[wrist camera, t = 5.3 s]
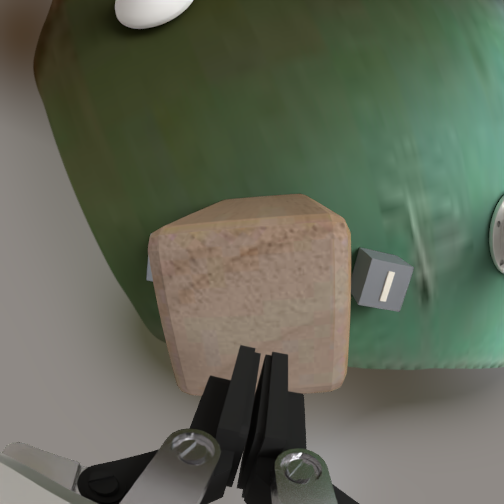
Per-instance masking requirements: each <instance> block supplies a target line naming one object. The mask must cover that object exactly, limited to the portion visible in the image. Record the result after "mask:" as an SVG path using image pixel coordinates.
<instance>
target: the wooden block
mask: <svg viewBox="0 0 504 504" xmlns="http://www.w3.org/2000/svg"><path fill="white" fill-rule="evenodd" d="M148 255H149V261H150V267H151V273H152V278H153V284H154V289H155V294H156V299H157V304H158V309H159V313H160V318H161V322H162V327H163V331H164V336H165V340H166V344H167V348H168V352H169V356H170V360H171V364H172V368H173V371H174V375H175V379H176V383H177V386H178V387H179V388H180V390H181V391H182V392H185V393H187V394H190V395H203V392H204V389H205V387H206V384H207V381H208V379H209V377H210V375H211V376H215V377H219V378H224V379H228V380H231V377H232V374H233V370H234V366H235V363H236V359H237V355H238V352H239V348H240V345H243V346H248V347H252V348H256V349H255V352H256V353H261V356H260V363H259V370H258V376H257V383H256V388H257V385H258V381H259V377H260V373H261V370H262V366H263V362H264V358H265V355H271V354H272V352H277V353H283V354H288V391H290V392H296V393H303V394H307V393H318V392H329V391H333V390H335V389H337V388H340V387H341V385H342V383H343V381H344V379H345V376H346V373H347V363H348V348H349V331H350V306H351V233H350V230H349V228H348V226H347V224H346V221H345V219H344V218H343V217H341V216H339V215H338V214H336V213H334V212H333V211H331V210H330V209H328V208H326V207H325V206H323V205H321V204H320V203H318V202H316V201H315V200H313V199H311V198H310V197H308V196H306V195H303V194H288V195H274V196H261V197H249V198H238V199H227V200H223V201H220V202H218V203H215V204H213V205H211V206H208V207H206V208H204V209H202V210H199V211H197V212H195V213H192V214H190V215H188V216H186V217H183V218H181V219H179V220H177V221H174V222H172V223H170V224H168V225H166V226H163V227H162V228H160V229H158V230H157V231H155V232H153V233H151V235H150V238H149V245H148ZM255 392H256V390H255Z"/></svg>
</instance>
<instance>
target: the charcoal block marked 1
mask: <svg viewBox="0 0 504 504" xmlns="http://www.w3.org/2000/svg"><path fill="white" fill-rule="evenodd" d="M413 269H414V267H412V266H411V265H410V264H408V263H407V262H405V261H404V260H403V259H401V258H400V257H398V256H396V255H392V254H387V253H383V252H379V251H374V250H370V249H365V248H361V247H359V251H358V255H357V259H356V262H355V266H354V270H353V273H352V277H351V294H352V295H353V297H354V299H355V300H356V302H357V304H358V305H362V306H368V307H374V308H380V309H386V310H392V311H398V312H400V309H401V306H402V303H403V300H404V297H405V294H406V291H407V288H408V285H409V282H410V279H411V276H412V273H413Z"/></svg>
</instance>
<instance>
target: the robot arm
mask: <svg viewBox="0 0 504 504" xmlns="http://www.w3.org/2000/svg"><path fill="white" fill-rule="evenodd" d="M489 245H490V252H491V257H492V259H493V262H494V264H495V266H496V267H497V269H498V270H499V271H500V272H501V273H503V274H504V195H503V197H502V198H501V199H500V200H499V202H498V204H497V206H496V208H495V211H494V213H493V216H492V220H491V225H490V232H489ZM255 349H256V348H252V347H248V346H243V345H240V348H239V352H238V355H237V359H236V363H235V366H234V370H233V374H232V377H231V380H228V379H224V378H219V377H215V376H211V375H210V377H209V379H208V381H207V384H206V387H205V389H204V392H203V395H202V397H201V400H200V403H199V405H198V408H197V411H196V413H195V416H194V418H193V421H192V424H191V426H190V429H182V430H178V431H176V432H174V433H172V434H171V435H170V436H169V437H168V438H167V439H166V441H165V442H164V443H163V445H162V446H161V448H160V449H159V450H155V451H152V452H148V453H145V454H141V455H137V456H134V457H129V458H125V459H121V460H117V461H112V462H107V463H103V464H98V465H94V466H91V467H85V466H82V465H80V463H79V462H77V461H74V460H70V459H67V458H64V457H61V456H58V455H55V454H52V453H49V452H46V451H43V450H41V449H38V448H35V447H33V446H30V445H28V444H25V443H20V442H16V443H11V444H9V445H7V446H6V447H5V449H4V450H3V452H2V453H0V504H209V503H210V502H213V501H215V500H217V499H219V498H222V497H223V494H224V491H225V488H226V486H229V487H232V485H233V481H234V478H235V475H236V472H237V469H238V466H239V463H240V460H241V457H242V462H241V468H240V473H239V479H238V485H237V488H240V489H243V494H242V497H243V498H244V501H245V502H246V503H247V504H359V503H358V502H356V501H355V500H353V499H352V498H350V497H349V496H348V495H346V494H345V493H344V492H342V491H341V490H339V489H338V488H337V487H335V486H334V485H333V484H332V482H331V478H330V475H329V471H328V468H327V465H326V463H325V461H324V460H323V459H322V458H321V457H320V456H319V455H317V454H316V453H314V452H312V451H309V450H306V429H305V408H304V395H303V393H296V392H290V391H288V354H283V353H277V352H272V354H271V355H265V358H264V362H263V366H262V370H261V373H260V377H259V381H258V385H257V388H256V383H257V376H258V370H259V363H260V356H261V353H256V352H255ZM255 390H256V392H255ZM242 453H243V456H242Z"/></svg>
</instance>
